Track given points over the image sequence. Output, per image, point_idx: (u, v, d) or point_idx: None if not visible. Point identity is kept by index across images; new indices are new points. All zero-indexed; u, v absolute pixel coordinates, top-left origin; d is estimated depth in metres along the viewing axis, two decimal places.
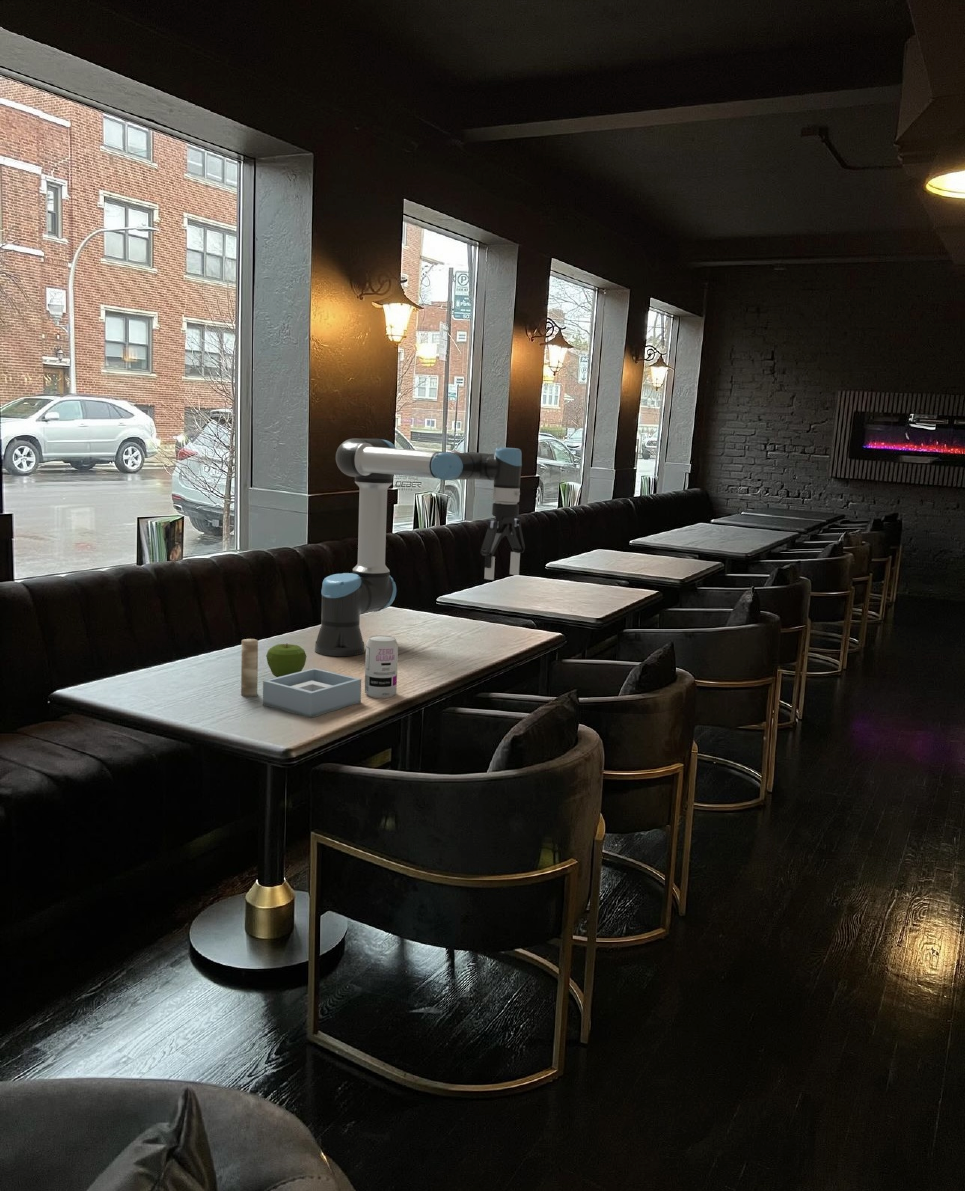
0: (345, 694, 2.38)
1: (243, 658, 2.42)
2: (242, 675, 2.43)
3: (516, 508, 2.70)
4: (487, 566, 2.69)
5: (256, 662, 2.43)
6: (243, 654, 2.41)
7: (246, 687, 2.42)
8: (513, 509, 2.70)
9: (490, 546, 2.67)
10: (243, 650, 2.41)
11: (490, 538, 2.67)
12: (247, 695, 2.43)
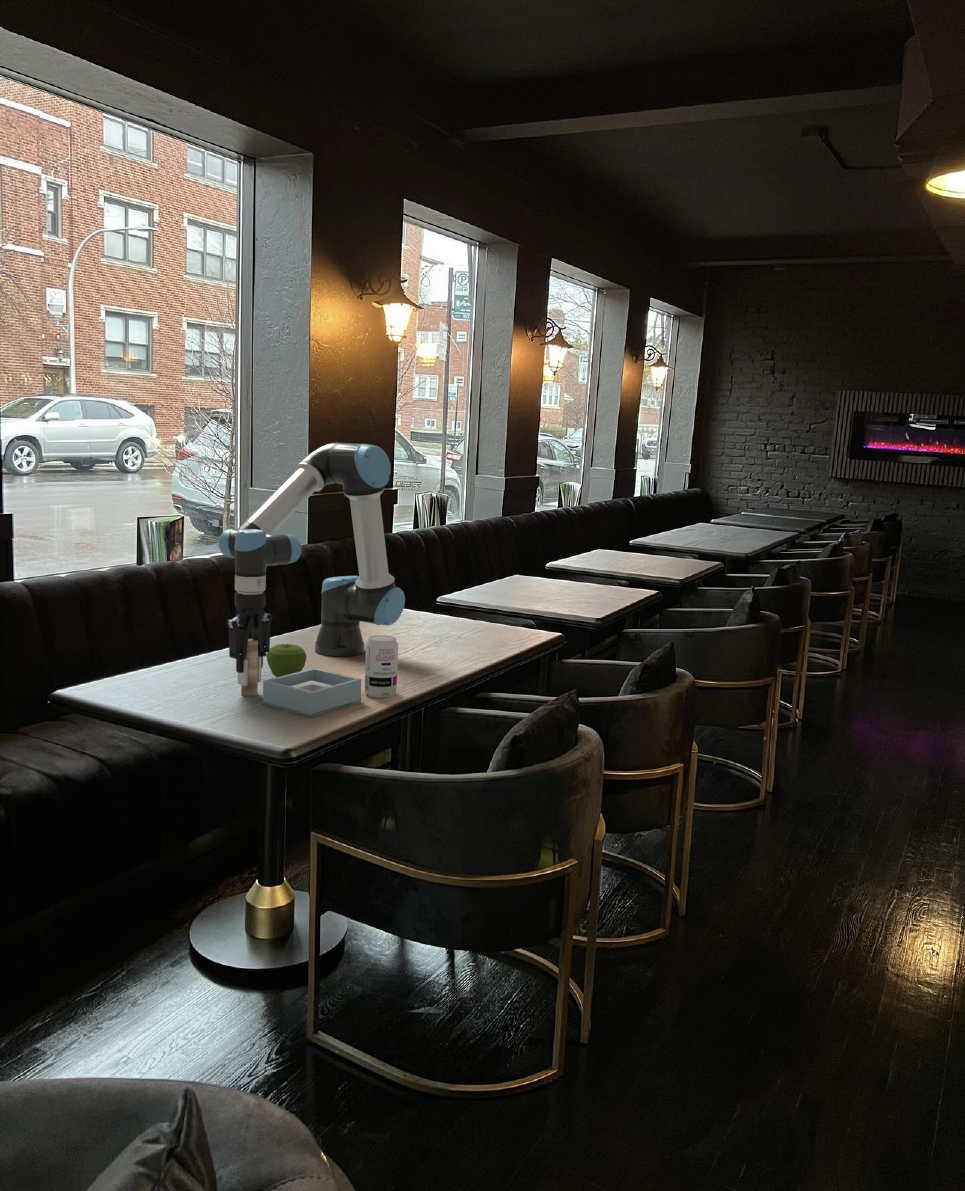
0: (345, 694, 2.38)
1: None
2: None
3: (259, 598, 2.38)
4: (238, 670, 2.40)
5: (256, 662, 2.43)
6: None
7: (246, 687, 2.42)
8: (256, 600, 2.38)
9: (237, 649, 2.38)
10: None
11: (234, 641, 2.37)
12: (248, 694, 2.43)
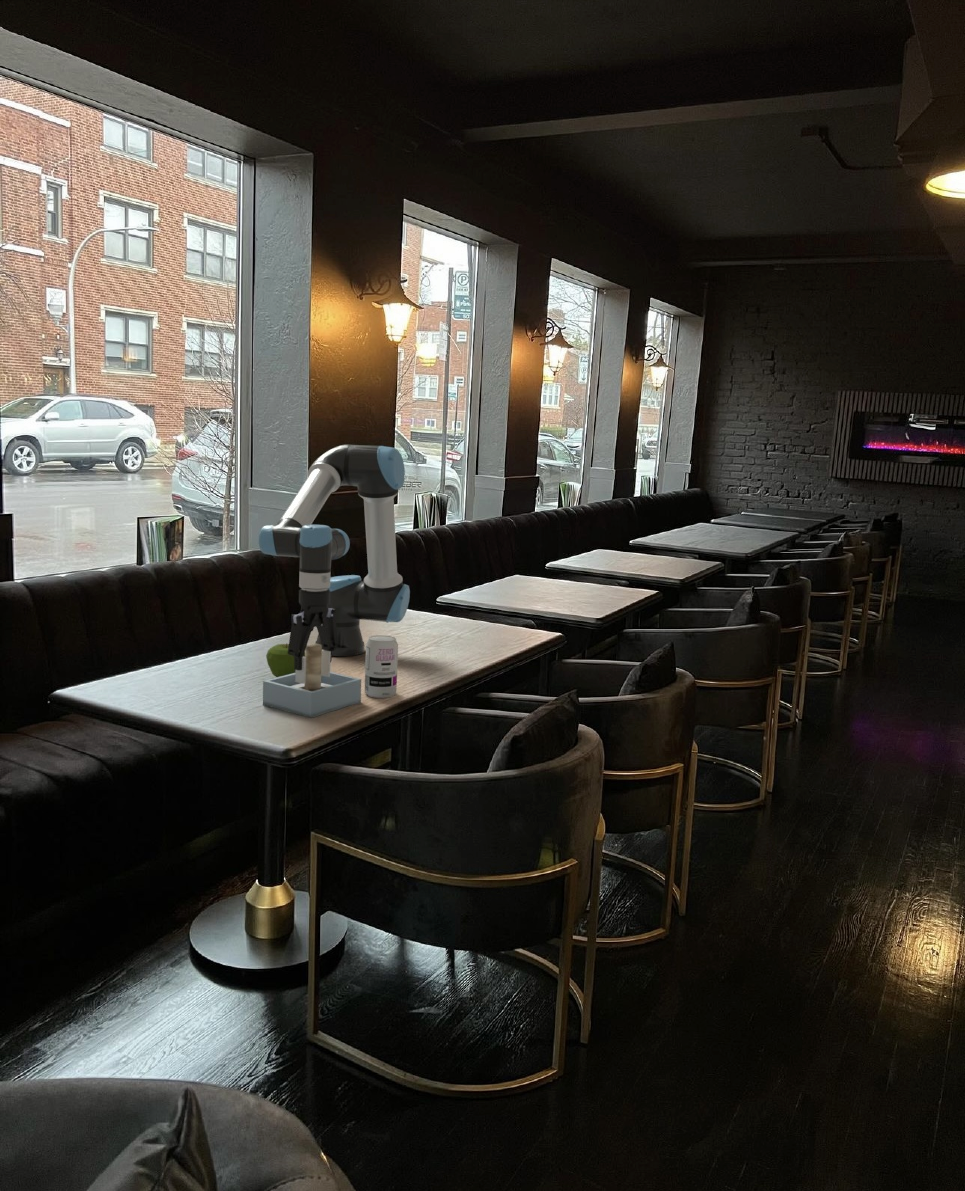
0: (345, 694, 2.38)
1: (307, 663, 2.36)
2: (306, 681, 2.37)
3: (324, 595, 2.33)
4: (296, 668, 2.33)
5: (320, 667, 2.37)
6: (307, 659, 2.36)
7: None
8: (321, 597, 2.32)
9: (297, 646, 2.31)
10: (307, 655, 2.36)
11: (295, 636, 2.31)
12: None
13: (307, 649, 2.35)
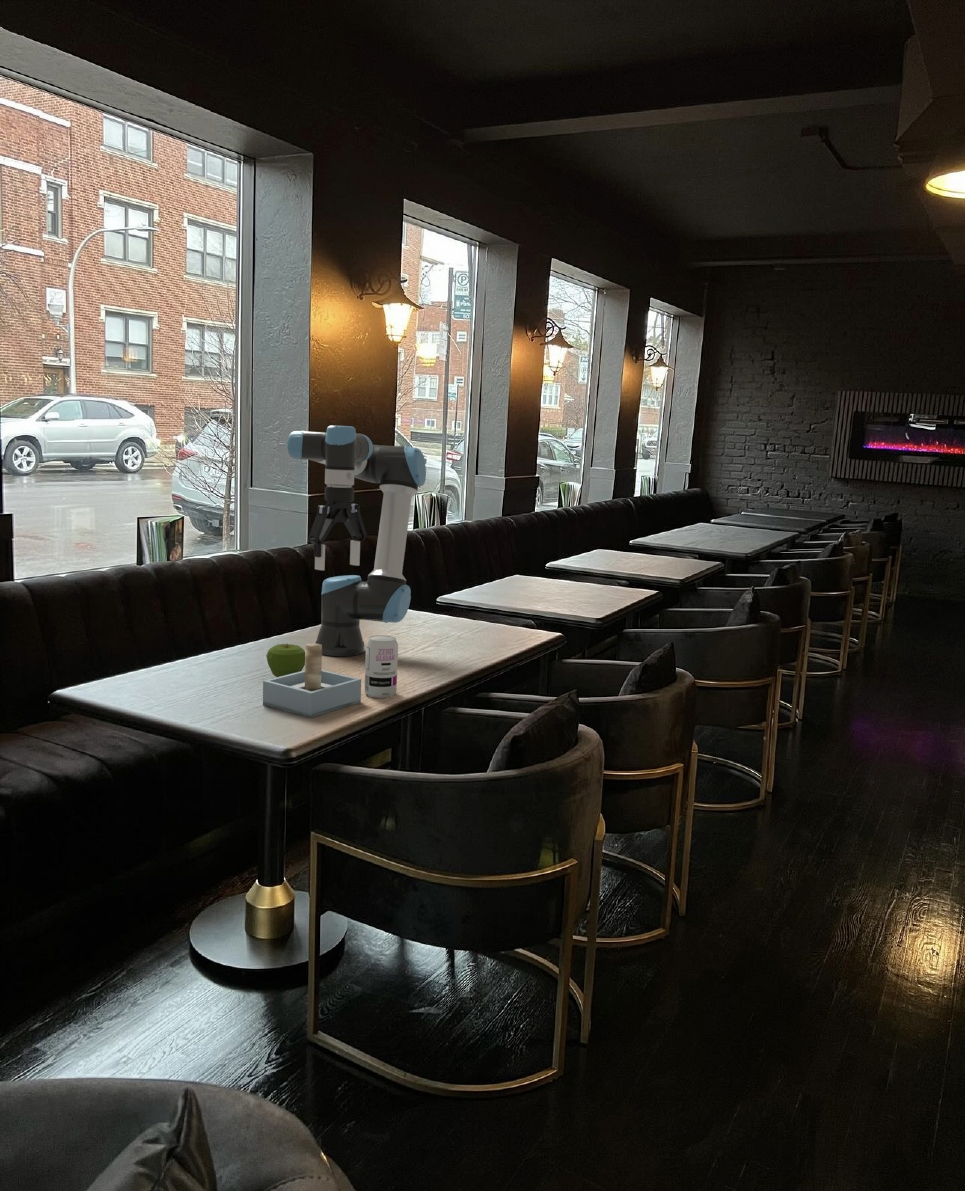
0: (345, 694, 2.38)
1: (307, 663, 2.37)
2: (306, 680, 2.38)
3: (349, 491, 2.47)
4: (316, 555, 2.45)
5: (320, 667, 2.38)
6: (307, 659, 2.36)
7: None
8: (346, 493, 2.47)
9: (318, 533, 2.43)
10: (307, 655, 2.36)
11: (318, 524, 2.44)
12: None
13: (307, 649, 2.36)
